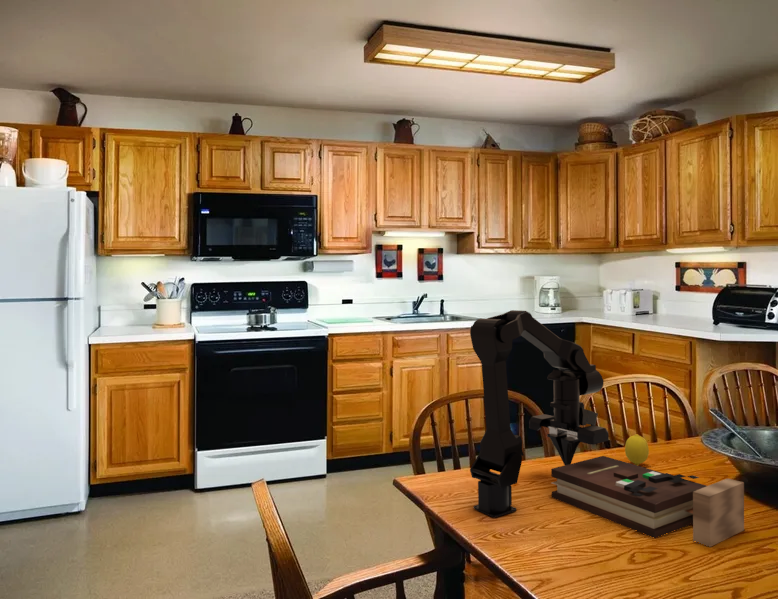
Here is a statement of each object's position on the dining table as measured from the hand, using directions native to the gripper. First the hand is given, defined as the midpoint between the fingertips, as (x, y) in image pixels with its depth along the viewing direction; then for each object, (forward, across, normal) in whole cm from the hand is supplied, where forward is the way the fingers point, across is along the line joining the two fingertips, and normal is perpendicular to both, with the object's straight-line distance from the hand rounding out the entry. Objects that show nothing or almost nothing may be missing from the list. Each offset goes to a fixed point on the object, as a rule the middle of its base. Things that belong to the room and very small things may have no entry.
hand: (567, 465), depth 139 cm
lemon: (+5, -1, -25) cm, 25 cm away
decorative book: (+5, -16, +1) cm, 17 cm away
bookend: (+4, -35, 0) cm, 35 cm away
